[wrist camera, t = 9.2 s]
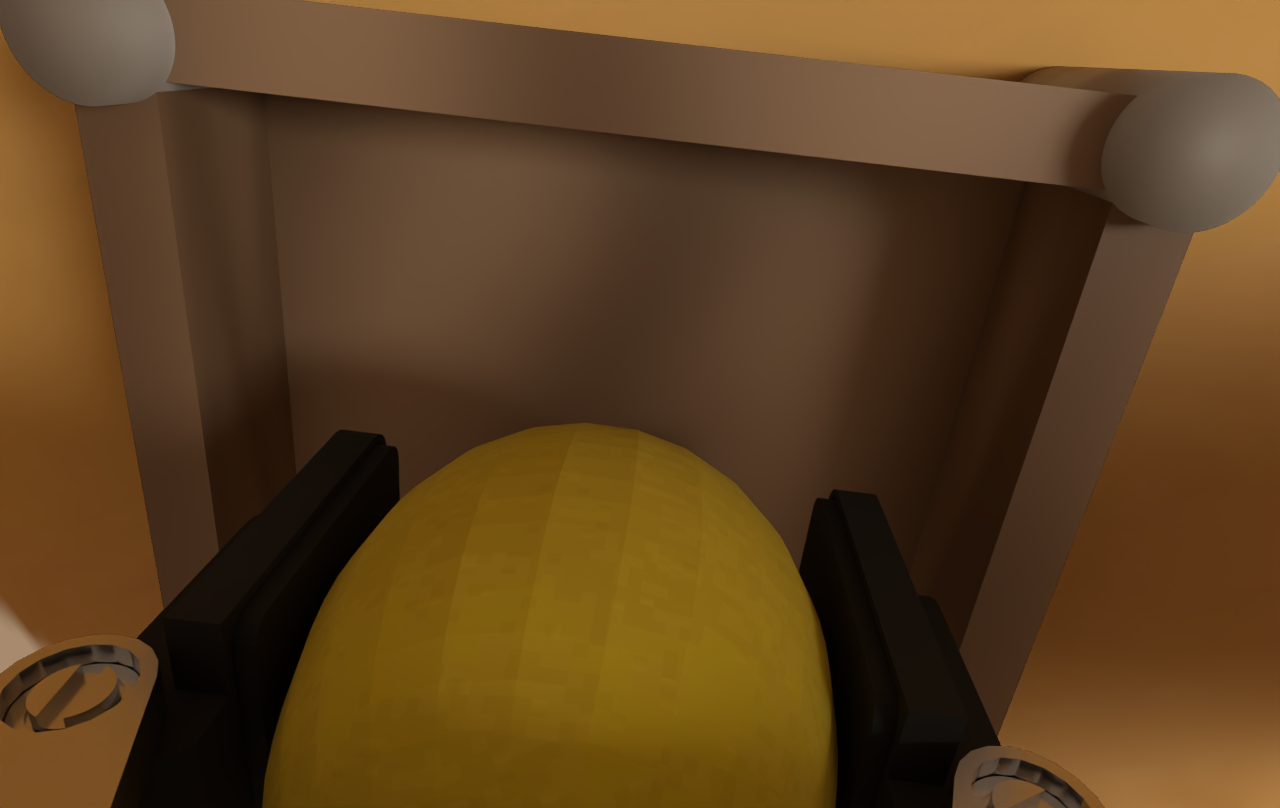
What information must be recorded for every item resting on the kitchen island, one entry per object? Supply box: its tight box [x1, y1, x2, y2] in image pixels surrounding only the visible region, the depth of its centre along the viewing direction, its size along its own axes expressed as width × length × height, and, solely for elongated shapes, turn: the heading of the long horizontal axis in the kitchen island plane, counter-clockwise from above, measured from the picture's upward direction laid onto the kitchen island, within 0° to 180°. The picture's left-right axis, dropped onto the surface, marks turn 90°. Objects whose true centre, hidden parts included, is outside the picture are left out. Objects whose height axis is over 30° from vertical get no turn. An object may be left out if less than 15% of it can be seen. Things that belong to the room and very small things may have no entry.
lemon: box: [262, 423, 838, 808], centre depth 9 cm, size 6×6×8 cm
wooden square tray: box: [0, 0, 1280, 736], centre depth 13 cm, size 14×14×4 cm
